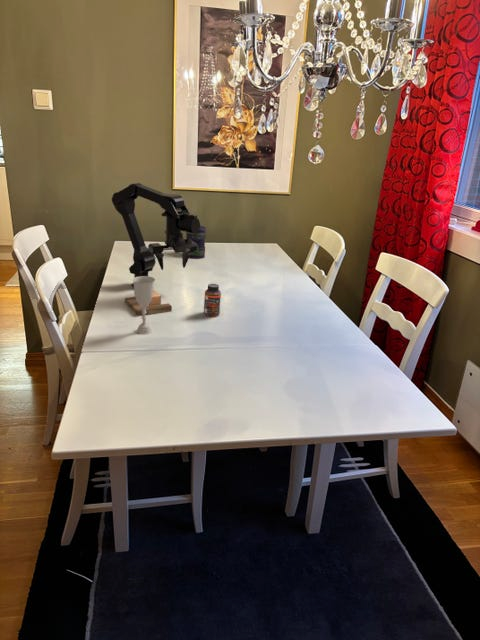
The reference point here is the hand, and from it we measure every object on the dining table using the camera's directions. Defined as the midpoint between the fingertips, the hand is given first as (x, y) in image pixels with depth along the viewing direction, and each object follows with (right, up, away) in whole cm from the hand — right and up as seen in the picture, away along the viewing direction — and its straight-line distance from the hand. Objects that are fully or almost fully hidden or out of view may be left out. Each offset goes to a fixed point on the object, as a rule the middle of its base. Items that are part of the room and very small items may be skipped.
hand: (173, 268), depth 192 cm
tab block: (-6, -15, -9) cm, 19 cm away
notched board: (-8, -15, -10) cm, 20 cm away
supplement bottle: (+16, -18, -12) cm, 27 cm away
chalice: (-6, -24, -30) cm, 39 cm away
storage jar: (+3, +12, +59) cm, 61 cm away
